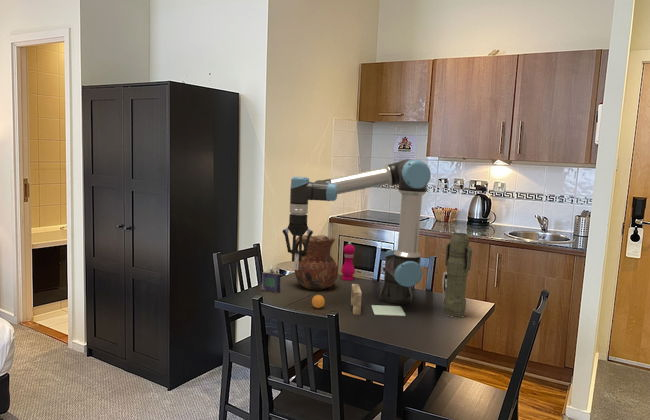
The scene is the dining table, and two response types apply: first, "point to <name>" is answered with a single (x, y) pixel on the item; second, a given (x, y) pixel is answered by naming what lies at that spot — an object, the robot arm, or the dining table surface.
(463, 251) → the olive brown statue
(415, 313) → the dining table surface
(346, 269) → the pepper mill
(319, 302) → the ball
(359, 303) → the bridge
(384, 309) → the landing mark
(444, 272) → the beer glass
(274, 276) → the flask
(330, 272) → the jug
